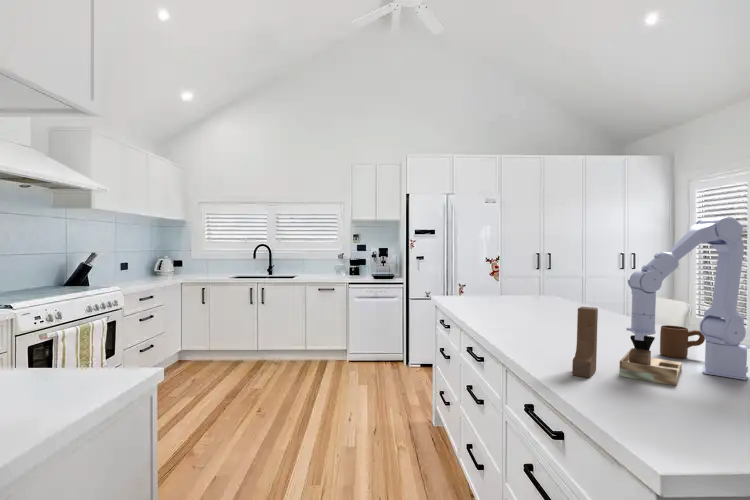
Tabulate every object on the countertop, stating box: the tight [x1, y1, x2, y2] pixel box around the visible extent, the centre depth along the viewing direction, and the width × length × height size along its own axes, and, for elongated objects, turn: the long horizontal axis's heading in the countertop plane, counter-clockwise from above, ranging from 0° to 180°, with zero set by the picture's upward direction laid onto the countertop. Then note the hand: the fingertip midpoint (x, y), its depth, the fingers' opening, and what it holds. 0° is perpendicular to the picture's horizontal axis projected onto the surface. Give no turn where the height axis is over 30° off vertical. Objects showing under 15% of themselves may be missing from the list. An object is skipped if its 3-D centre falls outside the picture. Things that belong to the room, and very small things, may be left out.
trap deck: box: [618, 348, 683, 387], centre depth 127 cm, size 13×20×4 cm, turn 142°
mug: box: [659, 324, 706, 359], centre depth 146 cm, size 12×8×9 cm, turn 57°
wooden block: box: [571, 306, 599, 379], centre depth 124 cm, size 9×4×18 cm, turn 144°
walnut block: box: [629, 347, 652, 366], centre depth 123 cm, size 4×4×4 cm
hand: (641, 361), depth 126 cm, fingers closed
